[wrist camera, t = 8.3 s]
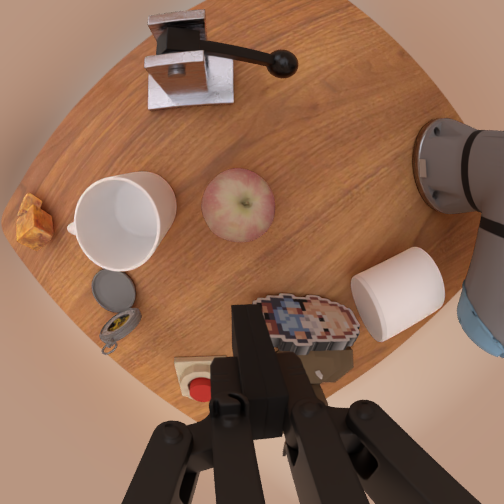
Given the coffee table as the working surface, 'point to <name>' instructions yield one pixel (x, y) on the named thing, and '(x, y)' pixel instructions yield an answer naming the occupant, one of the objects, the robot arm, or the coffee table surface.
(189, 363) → the housing
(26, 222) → the pyrite
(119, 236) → the mug
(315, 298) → the toy
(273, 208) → the apple
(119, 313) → the pocket watch
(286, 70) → the lever
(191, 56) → the bracket
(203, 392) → the button
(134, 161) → the coffee table surface
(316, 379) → the candle
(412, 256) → the white cylinder
